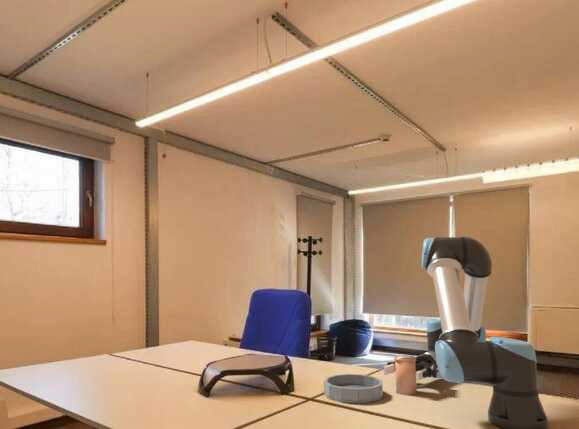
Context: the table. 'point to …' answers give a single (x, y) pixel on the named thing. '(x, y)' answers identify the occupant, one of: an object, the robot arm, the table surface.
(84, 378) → the table surface
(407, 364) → the terracotta jar
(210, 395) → the table surface
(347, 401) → the slate bowl
